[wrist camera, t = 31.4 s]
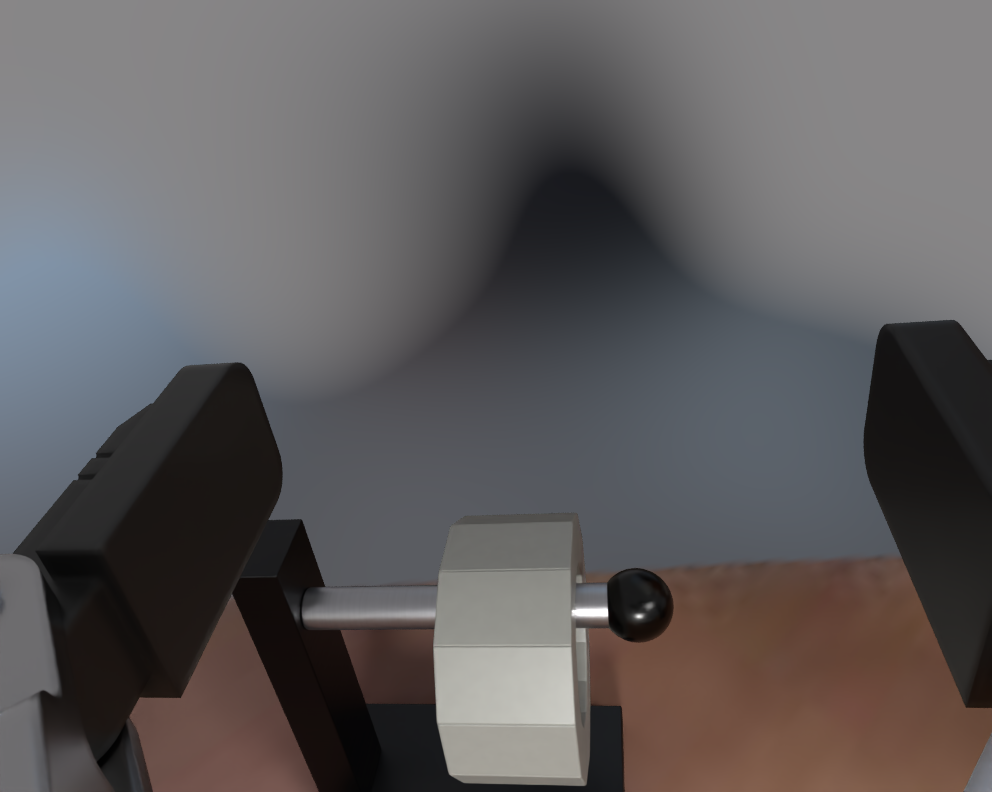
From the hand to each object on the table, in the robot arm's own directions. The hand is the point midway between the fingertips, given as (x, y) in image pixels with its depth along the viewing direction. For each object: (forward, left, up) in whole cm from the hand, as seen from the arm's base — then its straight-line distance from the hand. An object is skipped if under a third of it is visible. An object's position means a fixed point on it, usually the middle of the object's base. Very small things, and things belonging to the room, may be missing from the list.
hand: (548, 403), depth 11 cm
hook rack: (+4, -13, -30) cm, 33 cm away
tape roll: (+1, -12, -24) cm, 27 cm away
